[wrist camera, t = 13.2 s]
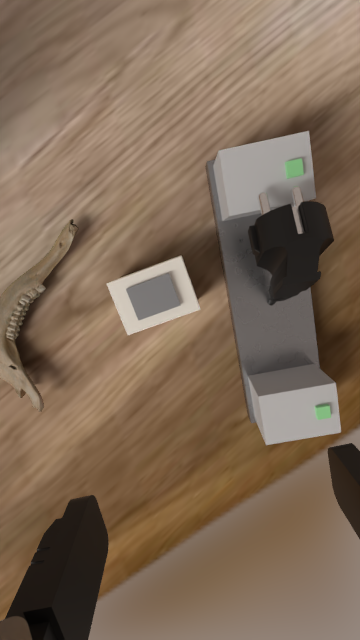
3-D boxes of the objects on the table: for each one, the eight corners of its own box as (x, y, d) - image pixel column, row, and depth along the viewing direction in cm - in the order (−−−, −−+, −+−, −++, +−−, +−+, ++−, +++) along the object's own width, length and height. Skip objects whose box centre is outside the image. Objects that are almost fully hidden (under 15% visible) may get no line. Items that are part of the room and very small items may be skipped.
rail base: (205, 166, 32) (206, 161, 30) (286, 149, 32) (293, 142, 30) (247, 414, 38) (251, 423, 36) (317, 401, 38) (324, 410, 36)
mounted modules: (213, 166, 31) (219, 148, 25) (288, 149, 30) (310, 128, 25) (255, 418, 36) (267, 447, 31) (319, 407, 36) (343, 434, 30)
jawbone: (-23, 383, 38) (-37, 390, 36) (0, 201, 34) (-15, 198, 32) (50, 405, 37) (40, 413, 35) (82, 222, 33) (73, 219, 31)
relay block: (119, 277, 35) (105, 284, 29) (181, 254, 34) (181, 256, 28) (137, 321, 36) (127, 336, 30) (197, 299, 35) (200, 310, 29)
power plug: (244, 314, 33) (269, 278, 21) (231, 244, 34) (246, 173, 23) (301, 305, 33) (357, 263, 21) (285, 235, 34) (329, 159, 22)
